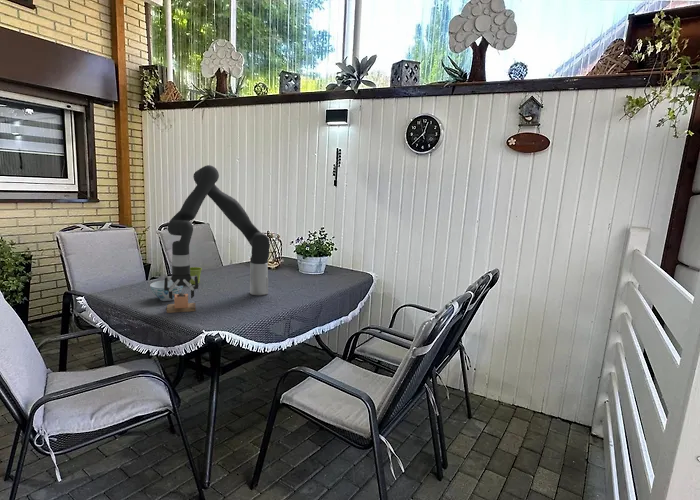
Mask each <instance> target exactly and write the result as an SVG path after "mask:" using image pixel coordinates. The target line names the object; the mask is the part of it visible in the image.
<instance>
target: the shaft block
mask: <svg viewBox="0 0 700 500" xmlns="http://www.w3.org/2000/svg"><path fill="white" fill-rule="evenodd" d="M184 294H185V293H183V292H180V293H179V297H184ZM196 307H197V306H196V302H188V308H175V307H174V303H170V304H169V303H168V304H167V306H166V313H167V314H171V313H189V312H196Z"/></svg>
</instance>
